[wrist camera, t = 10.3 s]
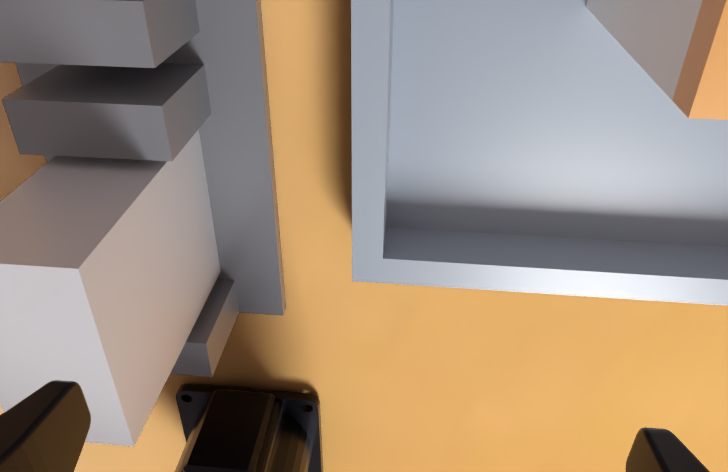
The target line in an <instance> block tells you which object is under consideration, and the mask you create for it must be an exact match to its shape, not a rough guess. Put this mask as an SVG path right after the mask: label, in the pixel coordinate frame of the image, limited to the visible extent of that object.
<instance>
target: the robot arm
mask: <svg viewBox="0 0 728 472" xmlns="http://www.w3.org/2000/svg"><path fill="white" fill-rule="evenodd" d="M176 400H177V404H178V408H179V413H180V417H181V421H182V425H183V429H184V433H185V438H186V442H187V443H186V446H185V448H184V450H183V453H182V455H181V458H180V460H179V463H178V465H177V468H176V470H175V472H323V458H322V437H321V416H320V401H319V399H318V398H317V397H316V396H314V395H312V394H307V393H294V392H282V391H269V390H256V389H244V388H231V387H219V386H206V385H194V384H184V385H181V386H180V388H179V389H178V392H177V394H176ZM306 404H308V405H306ZM90 424H91V414H90V411H89V408H88V405H87V403H86V400H85V397H84V394H83V391H82V389H81V386H80V385H79V384H78V383H77V382H74V381H63V380H53V381H51V382H48V383H47V384H45V385H44V386H42V387H41V388H39V389H38V390H36V391H35V392H34V393H32V394H31V395H29V396H28V397H26V398H25V399H23V400H22V401H20V402H19V403H17V404H16V405H15V406H13V407H12V408H10V409H9V410H7V411H6V412H4V413H3V414H1V415H0V472H74V469H75V467H76V464H77V461H78V459H79V456H80V453H81V451H82V448H83V445H84V442H85V440H86V437H87V434H88V432H89V428H90ZM626 472H710V471H709V470H708V469H707V468H706V467H705V466H704V465H703V464H702V463H701V462H700V461H699V460H698V459H697V458H696V457H695V456H694V455H693V454H692V453H691V452H690V451H689V450H688V448H687V447H686V446H685V445H684V444H683V443H682V442H681V441H680V440H679V439H678V438H677V437H676V436H675V435H674V434H673V433H672V432H670V431H669V430H666V429H658V428H641V429H640V430H639V431H638V433H637V435H636V438H635V440H634V443H633V445H632V448H631V450H630V453H629V455H628V458H627V461H626Z"/></svg>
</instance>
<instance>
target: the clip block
mask: <svg viewBox="0 0 728 472" xmlns="http://www.w3.org/2000/svg"><path fill="white" fill-rule="evenodd" d="M0 62H11V63H16V66H17V70H18V73H19V76H20V79H21V82H22V86H23V87H21V88H19V89H18V90H16V91H14V92H13V93H11V94H9V95H8V96H6V97H4V98H2V102H3V105H4V108H5V111H6V114H7V117H8V120H9V123H10V125H11V128H12V131H13V134H14V137H15V140H16V143H17V146H18V149H19V152H20V154H34V155H44V156H45V159H46V162H48V161H50V160H51V159H52V158H53V157H54V156H73V157H93V158H113V159H132V160H152V161H173V160H174V159H175V157H176V156H177V155H178V154H179V153H180V151H181V150H182V149H183V148H184V146H185V145H186V144H187V143H188V142H189V140H190V139H191V138H192V137H193V135H194V134H195V133H196V132H197V131H198V129H199V134H200V141H201V147H202V154H203V160H204V167H205V173H206V180H207V186H208V193H209V199H210V206H211V212H212V219H213V225H214V232H215V238H216V245H217V251H218V258H219V264H220V271H221V272H220V274H219V276H218V278H217V280H216V282H215V284H214V286H213V288H212V290H211V292H210V294H209V296H208V298H207V300H206V302H205V304H204V306H203V308H202V310H201V312H200V314H199V316H198V318H197V320H196V322H195V324H194V326H193V328H192V330H191V332H190V334H189V336H188V338H187V340H186V342H185V344H184V346H183V348H182V351H181V353H180V355H179V357H178V359H177V361H176V363H175V365H174V367H173V369H172V371H171V373H170V374H178V375H191V376H204V377H213V374H214V372H215V369H216V367H217V364H218V362H219V360H220V357H221V355H222V352H223V350H224V347H225V345H226V343H227V340H228V338H229V335H230V333H231V330H232V328H233V326H234V323H235V321H236V318H237V316H238V313H239V312H241V313H256V314H270V315H284V311H285V308H286V304H285V292H284V279H283V267H282V255H281V243H280V231H279V219H278V207H277V195H276V183H275V171H274V159H273V147H272V135H271V123H270V111H269V99H268V87H267V75H266V63H265V50H264V38H263V26H262V14H261V2H260V0H0Z"/></svg>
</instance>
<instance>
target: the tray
mask: <svg viewBox="0 0 728 472" xmlns="http://www.w3.org/2000/svg"><path fill="white" fill-rule="evenodd" d="M586 2H587V0H351V106H352V281H359V282H375V283H390V284H405V285H421V286H436V287H451V288H467V289H482V290H498V291H513V292H528V293H544V294H559V295H574V296H590V297H605V298H621V299H636V300H651V301H667V302H682V303H698V304H713V305H728V120H718V119H695V118H688V117H687V116H686V115H685V114H684V113H683V112H682V111H681V110H680V109H679V108H678V106H677V105H676V104H675V103H674V102H673V101H672V100H671V99H670V98H669V97H668V96H667V95H666V93H665V92H664V91H663V90H662V89H661V88H660V87H659V86H658V85H657V84H656V83H655V82H654V80H653V79H652V78H651V77H650V76H649V75H648V74H647V73H646V72H645V71H644V70H643V68H642V67H641V66H640V65H639V64H638V63H637V62H636V61H635V60H634V59H633V58H632V57H631V55H630V54H629V53H628V52H627V51H626V50H625V49H624V48H623V47H622V46H621V45H620V44H619V42H618V41H617V40H616V39H615V38H614V37H613V36H612V35H611V34H610V33H609V32H608V31H607V29H606V28H605V27H604V26H603V25H602V24H601V23H600V22H599V21H598V20H597V19H596V18H595V16H594V15H593V14H592V13H591V12H590V11H589V10H588V9H587V8H586Z"/></svg>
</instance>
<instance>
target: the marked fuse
mask: <svg viewBox="0 0 728 472" xmlns="http://www.w3.org/2000/svg"><path fill="white" fill-rule="evenodd" d="M586 8H587V9H588V10H589V11H590V12H591V13H592V14H593V15H594V16H595V18H596V19H597V20H598V21H599V22H600V23H601V24H602V25H603V26H604V27H605V28H606V29H607V31H608V32H609V33H610V34H611V35H612V36H613V37H614V38H615V39H616V40H617V41H618V42H619V44H620V45H621V46H622V47H623V48H624V49H625V50H626V51H627V52H628V53H629V54H630V55H631V57H632V58H633V59H634V60H635V61H636V62H637V63H638V64H639V65H640V66H641V67H642V68H643V70H644V71H645V72H646V73H647V74H648V75H649V76H650V77H651V78H652V79H653V80H654V82H655V83H656V84H657V85H658V86H659V87H660V88H661V89H662V90H663V91H664V92H665V93H666V95H667V96H668V97H669V98H670V99H671V100H672V101H673V102H674V103H675V104H676V105H677V106H678V108H679V109H680V110H681V111H682V112H683V113H684V114H685V115H686V116H687V117H688V118H695V119H718V120H728V0H587V2H586Z"/></svg>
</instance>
